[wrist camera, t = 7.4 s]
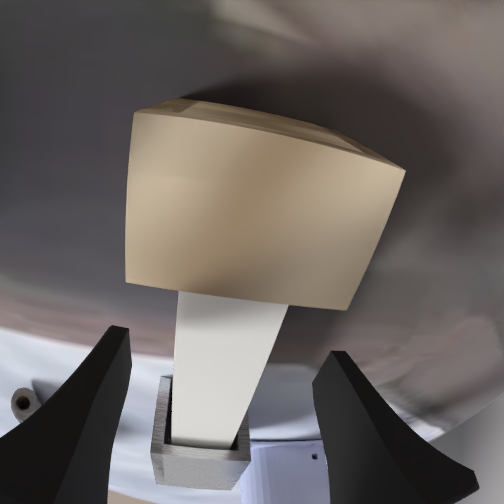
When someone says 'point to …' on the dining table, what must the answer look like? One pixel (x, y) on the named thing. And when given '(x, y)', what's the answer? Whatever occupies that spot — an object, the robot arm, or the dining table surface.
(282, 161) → the socket
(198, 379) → the long white bar
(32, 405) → the pipe
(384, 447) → the robot arm
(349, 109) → the dining table surface
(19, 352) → the dining table surface
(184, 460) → the sleeve
